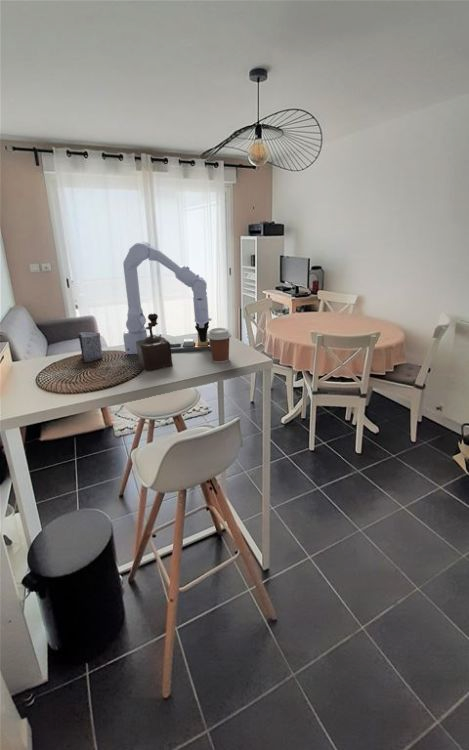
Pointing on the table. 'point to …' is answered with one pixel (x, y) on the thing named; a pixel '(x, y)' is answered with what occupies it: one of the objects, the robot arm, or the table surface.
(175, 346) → the rail
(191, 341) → the zinc nut
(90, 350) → the stone
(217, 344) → the coffee cup
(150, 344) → the manual coffee grinder
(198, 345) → the yellow block
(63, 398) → the table surface
